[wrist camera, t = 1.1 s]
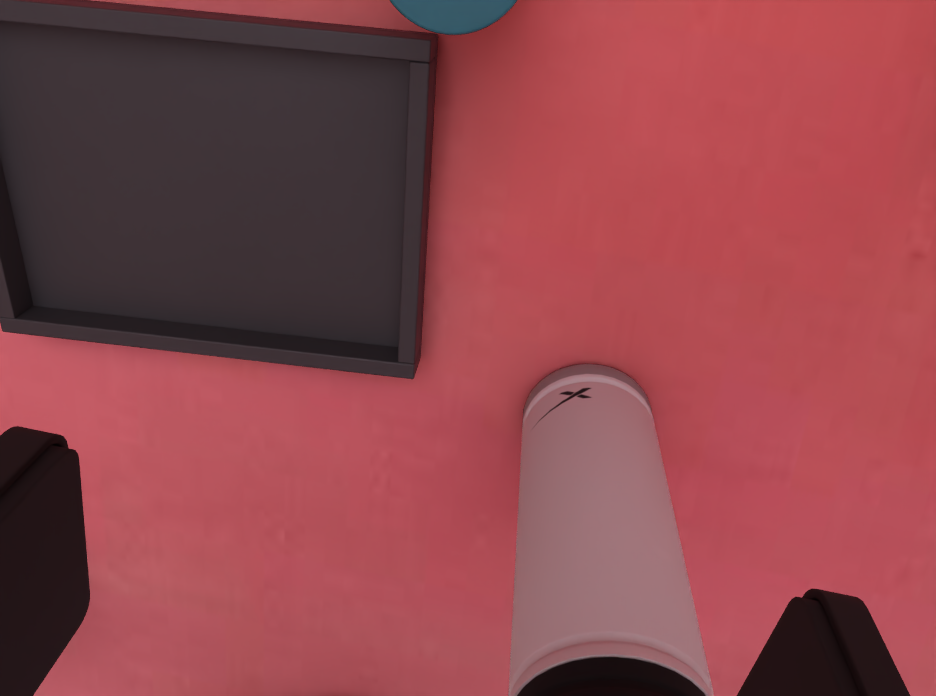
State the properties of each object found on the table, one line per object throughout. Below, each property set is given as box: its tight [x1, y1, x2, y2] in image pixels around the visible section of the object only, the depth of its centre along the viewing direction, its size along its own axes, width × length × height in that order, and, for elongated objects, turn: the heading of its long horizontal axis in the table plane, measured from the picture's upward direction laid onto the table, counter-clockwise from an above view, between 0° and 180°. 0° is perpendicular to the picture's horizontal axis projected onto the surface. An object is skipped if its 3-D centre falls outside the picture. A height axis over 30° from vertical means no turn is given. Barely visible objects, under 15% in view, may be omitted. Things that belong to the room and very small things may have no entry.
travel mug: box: [508, 364, 713, 696], centre depth 28 cm, size 6×7×20 cm
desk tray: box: [0, 0, 438, 379], centre depth 32 cm, size 15×20×2 cm
